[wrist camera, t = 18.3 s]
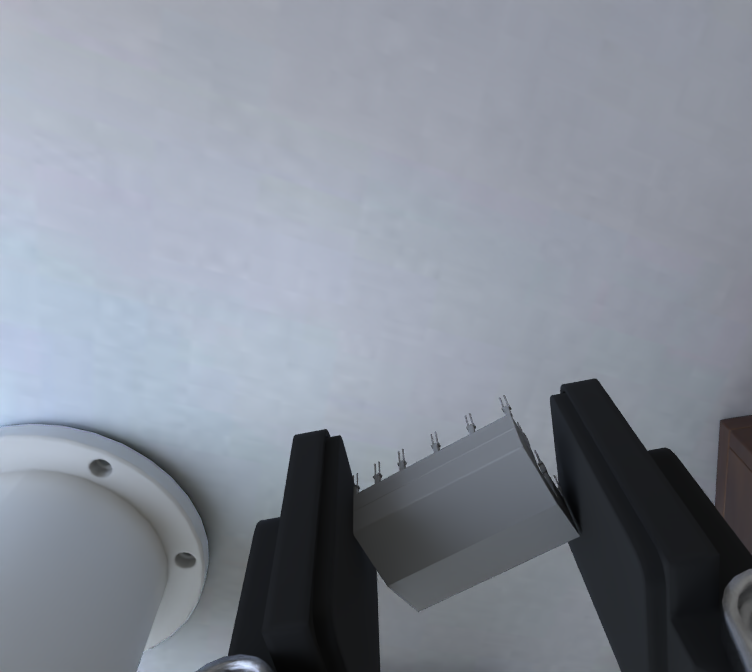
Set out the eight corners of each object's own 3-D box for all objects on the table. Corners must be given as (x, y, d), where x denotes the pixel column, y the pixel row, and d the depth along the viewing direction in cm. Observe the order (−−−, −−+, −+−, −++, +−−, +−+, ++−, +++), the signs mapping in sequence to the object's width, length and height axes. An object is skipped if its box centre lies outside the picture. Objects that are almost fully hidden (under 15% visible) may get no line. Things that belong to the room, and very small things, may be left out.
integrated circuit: (569, 467, 11) (603, 537, 9) (423, 561, 12) (432, 639, 10) (490, 377, 10) (513, 436, 9) (339, 482, 11) (336, 554, 9)
